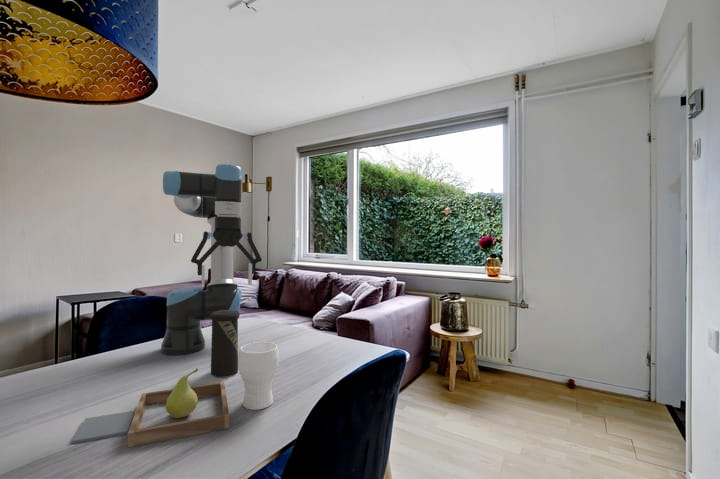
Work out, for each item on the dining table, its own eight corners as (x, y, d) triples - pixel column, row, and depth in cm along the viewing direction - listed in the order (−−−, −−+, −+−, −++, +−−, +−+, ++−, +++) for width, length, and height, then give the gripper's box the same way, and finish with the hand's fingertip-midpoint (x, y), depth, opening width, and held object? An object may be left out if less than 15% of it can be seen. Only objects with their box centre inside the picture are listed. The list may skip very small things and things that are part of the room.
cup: (247, 417, 88) (248, 356, 88) (230, 401, 96) (231, 345, 95) (285, 404, 95) (286, 348, 94) (267, 390, 103) (268, 338, 102)
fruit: (175, 408, 91) (176, 362, 91) (204, 409, 91) (205, 363, 91) (160, 422, 85) (160, 372, 84) (191, 423, 84) (191, 373, 84)
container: (229, 379, 110) (230, 314, 110) (203, 376, 112) (204, 312, 112) (244, 368, 119) (244, 309, 118) (219, 366, 120) (220, 307, 120)
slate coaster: (85, 420, 85) (85, 418, 85) (134, 412, 89) (134, 410, 89) (71, 443, 76) (71, 441, 76) (127, 433, 80) (127, 431, 80)
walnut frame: (141, 404, 93) (142, 393, 93) (223, 392, 101) (224, 381, 101) (127, 447, 75) (127, 433, 75) (229, 428, 83) (229, 415, 83)
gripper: (181, 214, 100) (181, 289, 101) (271, 217, 111) (270, 285, 112) (183, 214, 107) (182, 284, 108) (267, 217, 117) (266, 281, 118)
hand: (227, 285), depth 110 cm, fingers open, 13 cm apart
